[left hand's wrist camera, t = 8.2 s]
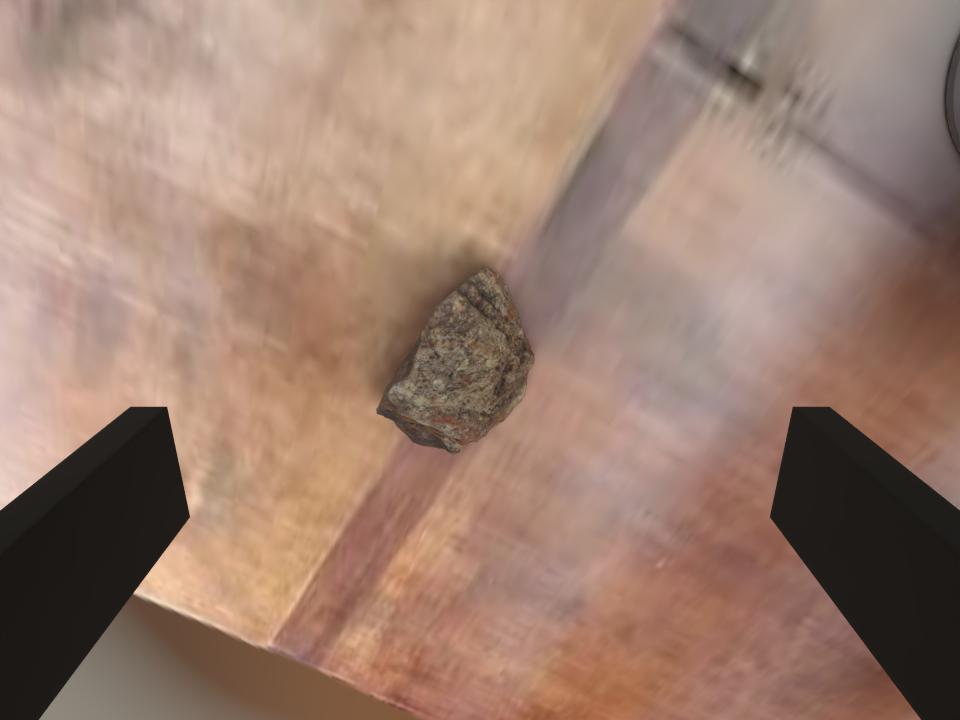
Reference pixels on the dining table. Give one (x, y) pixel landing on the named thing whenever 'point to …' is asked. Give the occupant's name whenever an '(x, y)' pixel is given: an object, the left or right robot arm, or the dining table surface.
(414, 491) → the dining table surface
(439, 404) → the rock
